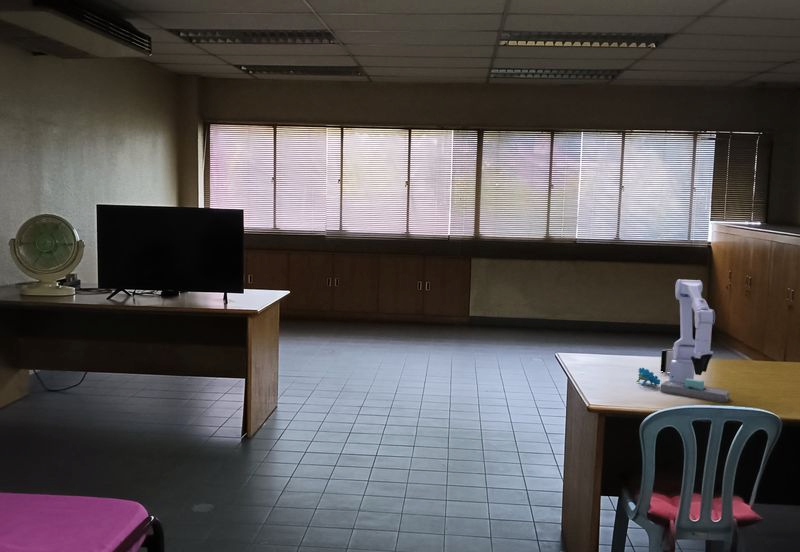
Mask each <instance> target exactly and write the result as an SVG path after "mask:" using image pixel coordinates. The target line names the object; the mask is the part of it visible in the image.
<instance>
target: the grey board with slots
mask: <svg viewBox="0 0 800 552" xmlns="http://www.w3.org/2000/svg"><path fill="white" fill-rule="evenodd" d="M661 391H662V392H661ZM660 392H661V393H665V392H666V393H667V394H671V393H672V395H677V396H682V397H689V398H696V399H700V400H701V399H702V400H707V401H712V402H718V403H724V404H725V403H726V402H727V401H728V400H729V399H730V392H731V391H730V390H724V389H721V388H719V389H718V388H713V387H707V386H706V387H705V386H704V390H698V388H696V387H690V388H686V387H685V383H679V382H673V381H669V380H666V381H664V382H662V383H661V384H660Z"/></svg>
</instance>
